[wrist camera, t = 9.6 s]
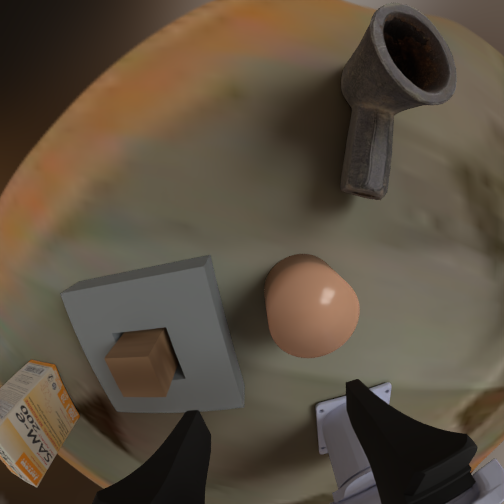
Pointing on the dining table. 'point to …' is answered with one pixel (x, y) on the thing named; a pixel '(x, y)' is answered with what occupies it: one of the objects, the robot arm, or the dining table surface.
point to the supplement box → (34, 420)
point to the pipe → (390, 90)
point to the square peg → (143, 363)
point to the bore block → (159, 316)
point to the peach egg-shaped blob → (309, 306)
